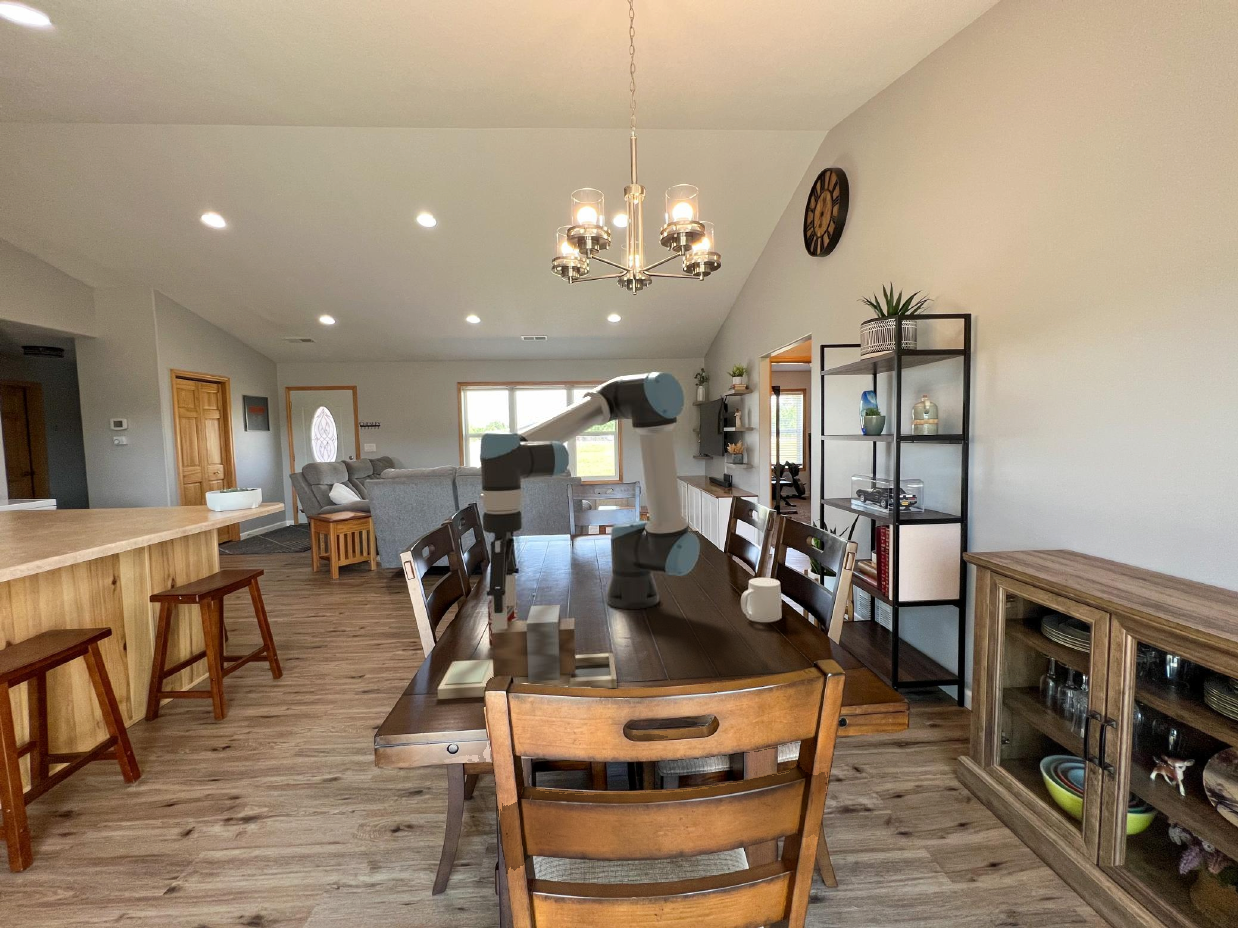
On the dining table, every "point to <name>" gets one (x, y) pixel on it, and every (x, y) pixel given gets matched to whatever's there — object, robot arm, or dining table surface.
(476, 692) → the board
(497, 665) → the block
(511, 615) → the soda can
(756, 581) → the mug
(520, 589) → the dining table surface
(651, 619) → the dining table surface
